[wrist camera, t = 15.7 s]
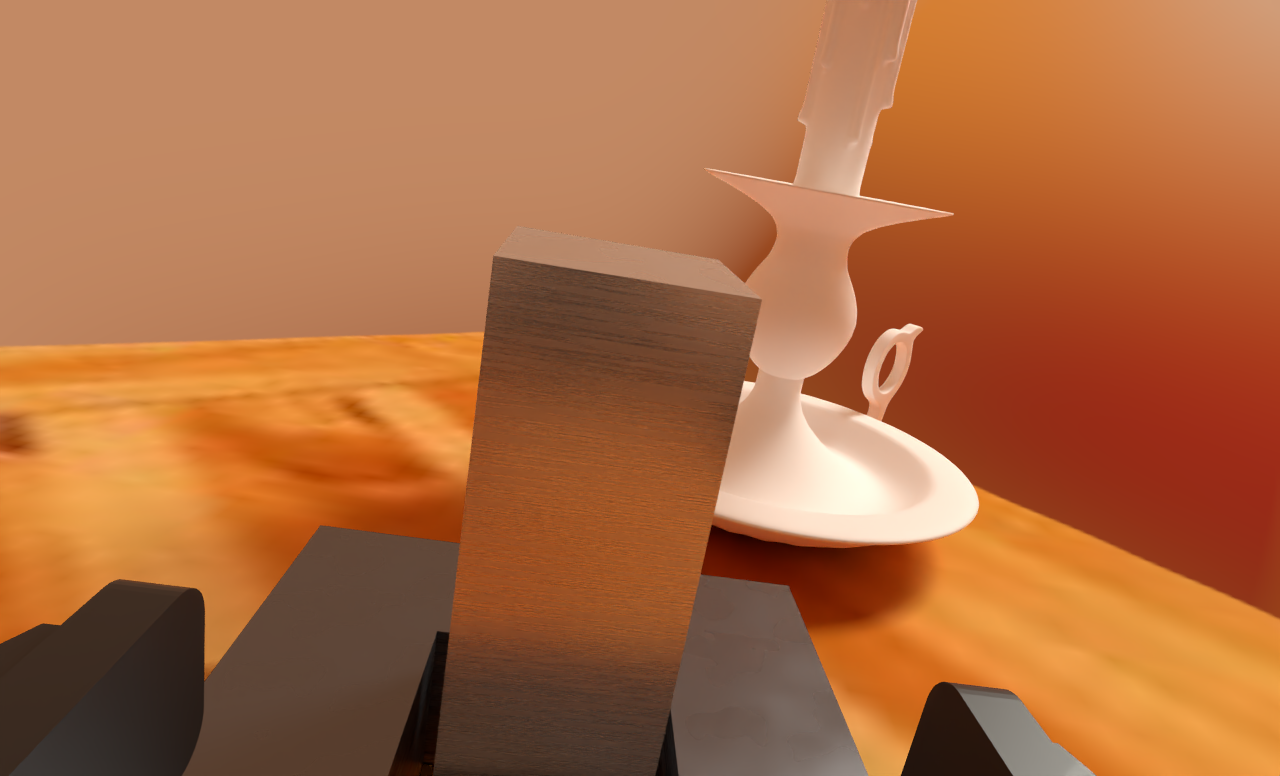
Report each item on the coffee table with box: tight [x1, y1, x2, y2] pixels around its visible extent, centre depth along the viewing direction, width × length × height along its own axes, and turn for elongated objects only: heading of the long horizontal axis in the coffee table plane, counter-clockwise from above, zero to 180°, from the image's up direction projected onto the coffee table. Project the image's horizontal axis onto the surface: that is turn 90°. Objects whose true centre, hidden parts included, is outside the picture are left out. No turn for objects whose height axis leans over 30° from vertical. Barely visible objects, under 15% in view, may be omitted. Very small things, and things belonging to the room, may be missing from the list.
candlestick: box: [704, 0, 979, 548], centre depth 37 cm, size 21×25×28 cm
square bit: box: [433, 226, 762, 776], centre depth 15 cm, size 4×4×14 cm
